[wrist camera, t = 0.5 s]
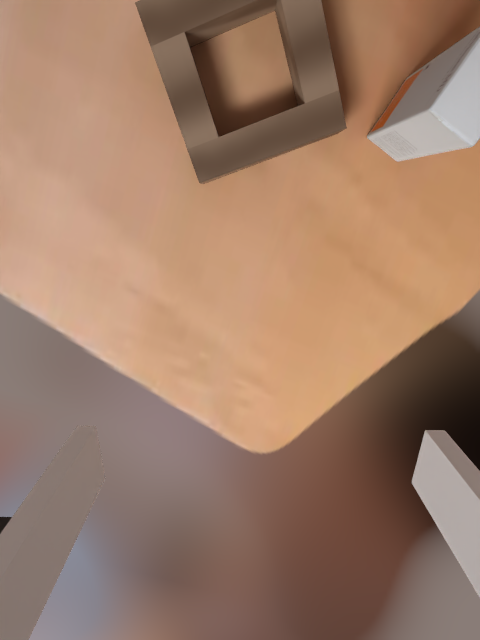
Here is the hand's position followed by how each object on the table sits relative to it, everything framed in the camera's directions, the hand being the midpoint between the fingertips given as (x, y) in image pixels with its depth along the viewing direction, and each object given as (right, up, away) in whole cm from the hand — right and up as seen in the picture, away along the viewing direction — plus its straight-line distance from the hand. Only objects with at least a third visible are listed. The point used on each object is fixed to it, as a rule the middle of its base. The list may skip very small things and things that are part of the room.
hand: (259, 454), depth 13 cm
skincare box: (+15, +25, +18) cm, 34 cm away
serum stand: (0, +28, +17) cm, 32 cm away
